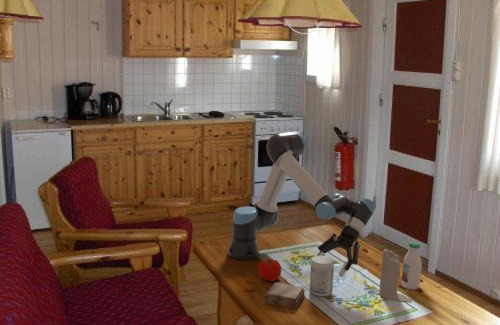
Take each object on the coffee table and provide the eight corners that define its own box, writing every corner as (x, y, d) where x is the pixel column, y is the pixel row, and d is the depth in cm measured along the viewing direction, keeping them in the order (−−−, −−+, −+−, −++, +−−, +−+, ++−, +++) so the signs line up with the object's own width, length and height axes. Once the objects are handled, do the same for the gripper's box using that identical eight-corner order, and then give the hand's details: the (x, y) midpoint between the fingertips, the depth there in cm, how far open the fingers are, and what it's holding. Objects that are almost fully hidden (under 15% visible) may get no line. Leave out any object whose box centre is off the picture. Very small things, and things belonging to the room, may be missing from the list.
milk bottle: (419, 284, 240) (424, 241, 236) (418, 291, 232) (423, 247, 229) (401, 281, 242) (405, 239, 238) (400, 288, 235) (404, 244, 231)
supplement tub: (320, 285, 234) (322, 253, 231) (336, 293, 227) (339, 260, 224) (304, 291, 228) (306, 258, 225) (321, 299, 221) (323, 265, 218)
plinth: (264, 302, 215) (265, 293, 215) (274, 290, 227) (274, 281, 227) (296, 309, 211) (296, 299, 210) (304, 295, 223) (304, 286, 222)
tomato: (261, 285, 232) (262, 266, 231) (254, 275, 243) (255, 256, 241) (284, 283, 235) (285, 264, 234) (276, 273, 246) (277, 255, 244)
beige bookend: (409, 304, 219) (414, 257, 215) (376, 295, 226) (380, 250, 223) (414, 298, 225) (419, 252, 222) (382, 289, 232) (386, 245, 229)
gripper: (379, 242, 226) (354, 284, 219) (334, 227, 244) (309, 266, 238) (372, 232, 222) (347, 275, 215) (327, 218, 240) (301, 257, 233)
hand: (327, 270), depth 226 cm, fingers open, 13 cm apart
